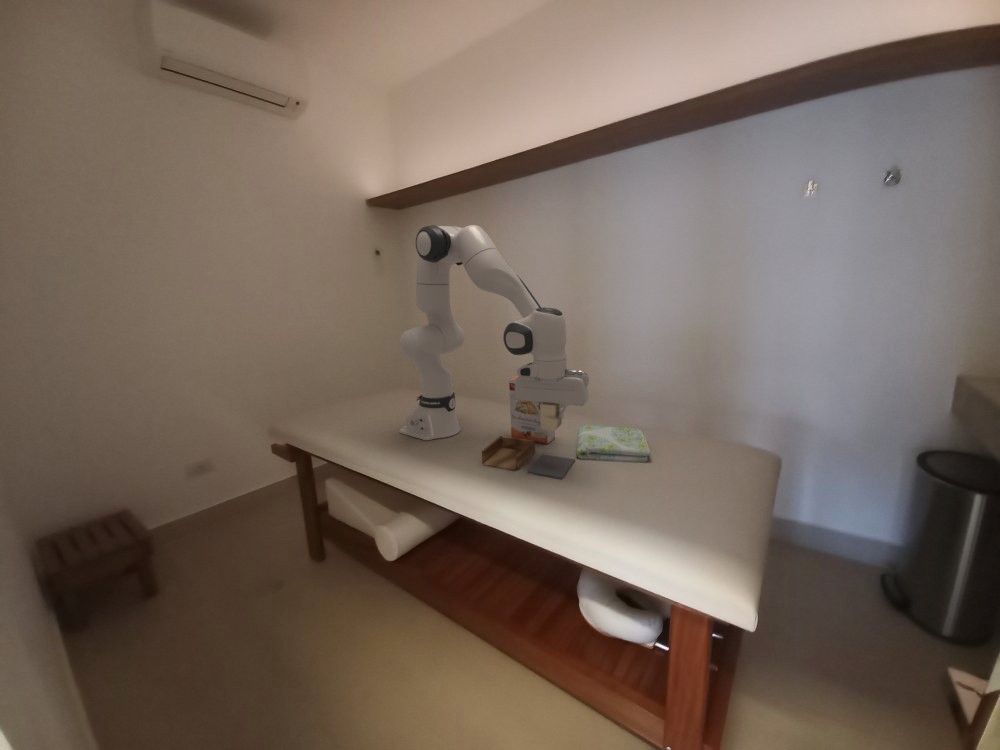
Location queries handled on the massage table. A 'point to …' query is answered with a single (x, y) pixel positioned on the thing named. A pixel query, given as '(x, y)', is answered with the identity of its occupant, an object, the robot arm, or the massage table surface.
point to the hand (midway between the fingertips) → (551, 417)
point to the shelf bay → (508, 453)
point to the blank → (550, 416)
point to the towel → (612, 443)
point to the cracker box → (526, 419)
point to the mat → (551, 466)
